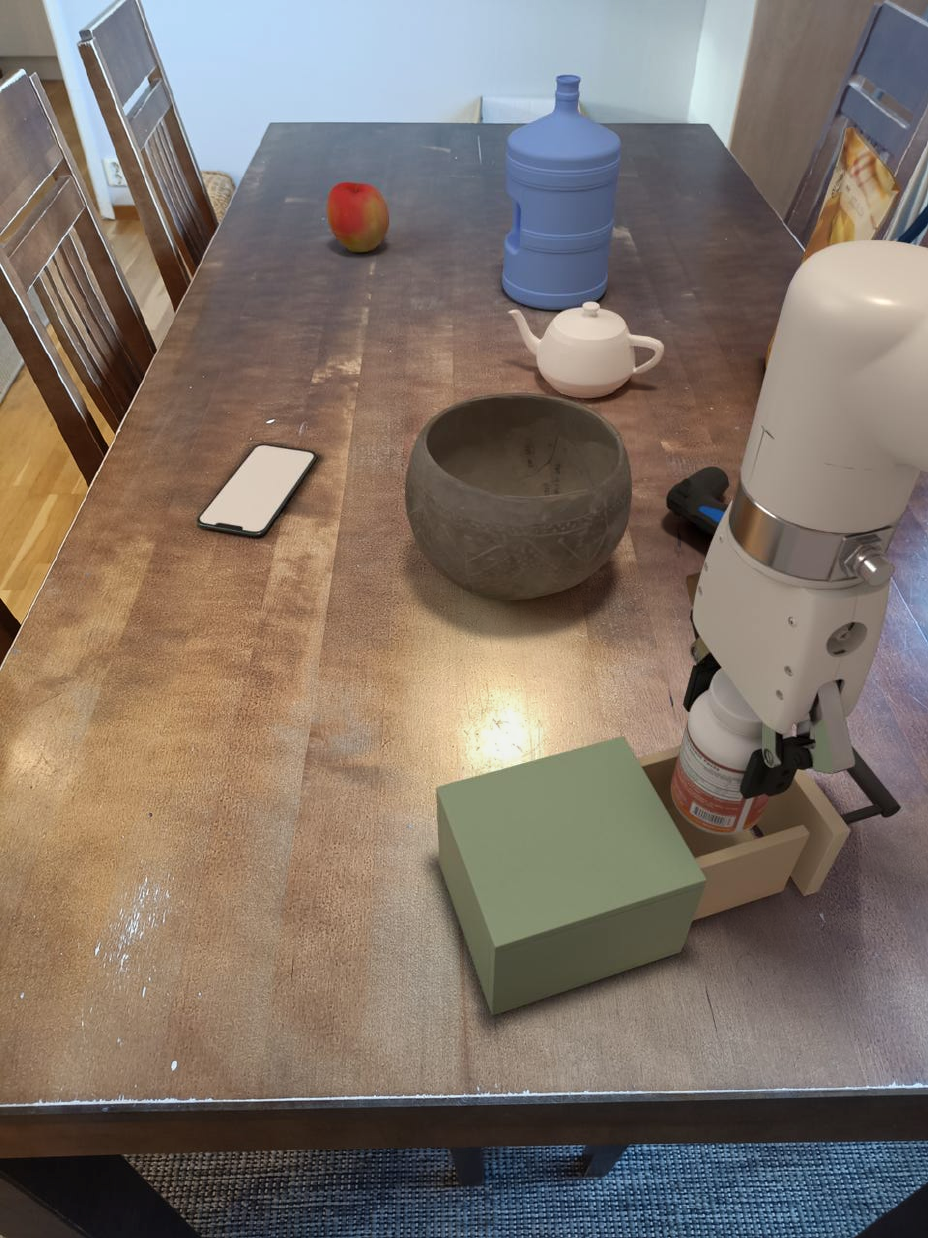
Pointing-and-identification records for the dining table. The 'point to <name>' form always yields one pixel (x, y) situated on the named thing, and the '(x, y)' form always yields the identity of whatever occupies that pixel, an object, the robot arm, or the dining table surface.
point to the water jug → (560, 205)
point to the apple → (357, 215)
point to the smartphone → (257, 490)
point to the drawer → (770, 836)
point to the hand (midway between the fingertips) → (734, 743)
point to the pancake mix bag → (853, 199)
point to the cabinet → (564, 872)
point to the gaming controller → (700, 498)
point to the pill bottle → (718, 761)
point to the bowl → (518, 494)
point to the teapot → (587, 351)
